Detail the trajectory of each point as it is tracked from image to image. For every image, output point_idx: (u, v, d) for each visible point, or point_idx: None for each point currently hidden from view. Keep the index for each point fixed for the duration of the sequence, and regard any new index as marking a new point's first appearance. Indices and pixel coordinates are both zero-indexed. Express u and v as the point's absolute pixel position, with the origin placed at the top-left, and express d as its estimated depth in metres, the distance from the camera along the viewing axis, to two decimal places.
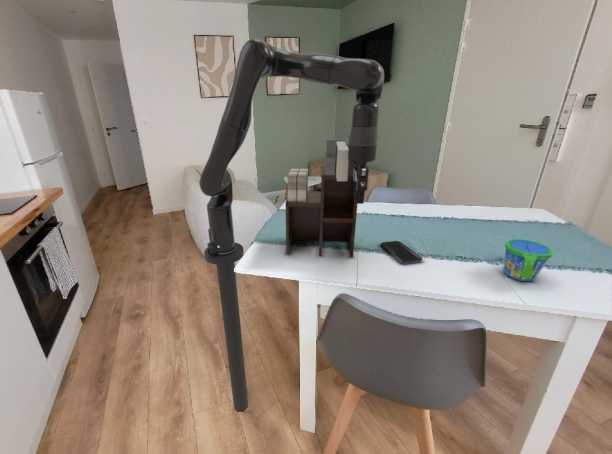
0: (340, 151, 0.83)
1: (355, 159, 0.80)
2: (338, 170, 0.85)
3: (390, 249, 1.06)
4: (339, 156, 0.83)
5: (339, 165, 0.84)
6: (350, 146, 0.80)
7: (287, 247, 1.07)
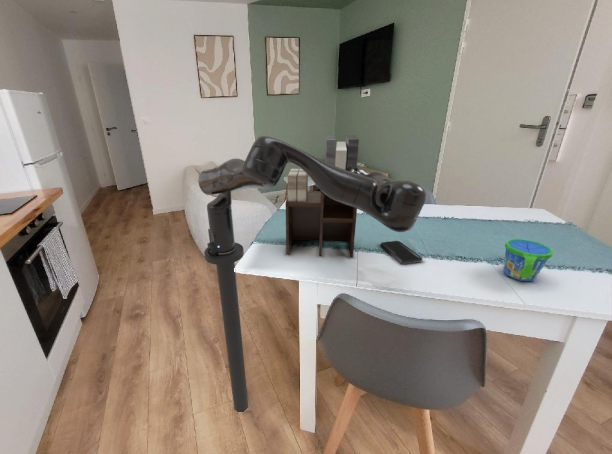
0: (337, 151, 0.83)
1: None
2: None
3: (390, 249, 1.06)
4: (336, 156, 0.84)
5: (336, 165, 0.85)
6: None
7: (287, 247, 1.07)
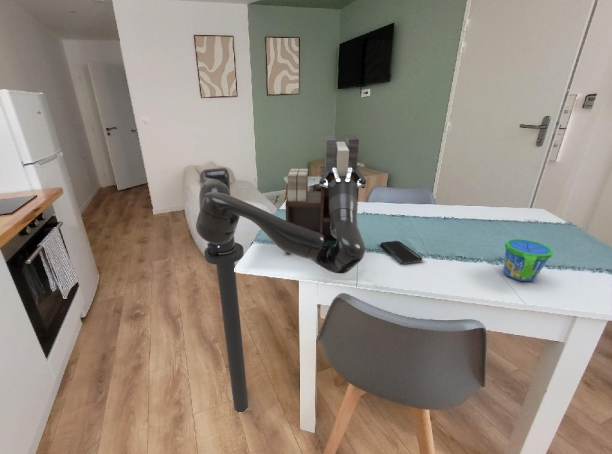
0: (340, 151, 0.83)
1: None
2: (338, 170, 0.85)
3: (390, 249, 1.06)
4: (339, 156, 0.83)
5: (339, 165, 0.84)
6: None
7: None
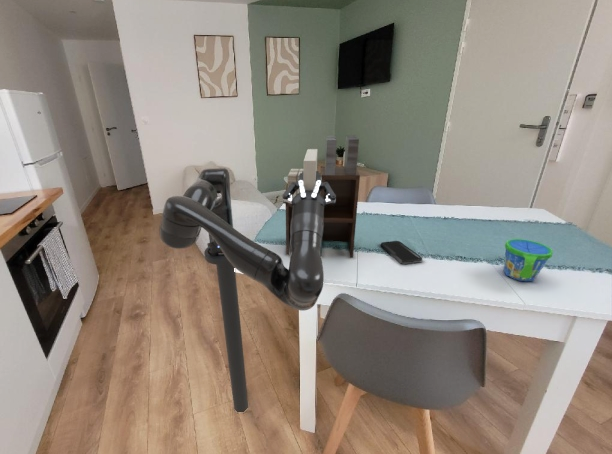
0: (305, 161, 0.71)
1: None
2: (304, 183, 0.73)
3: (390, 249, 1.06)
4: (304, 167, 0.72)
5: (305, 178, 0.73)
6: None
7: (287, 247, 1.07)
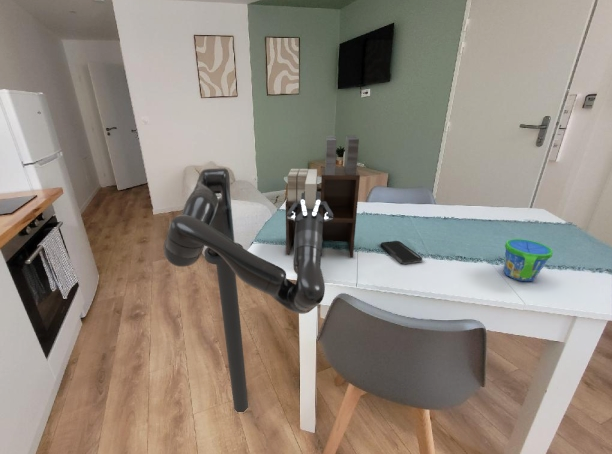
0: (307, 184, 0.82)
1: None
2: (305, 203, 0.84)
3: (390, 249, 1.06)
4: (306, 189, 0.83)
5: (306, 198, 0.84)
6: None
7: (287, 247, 1.07)
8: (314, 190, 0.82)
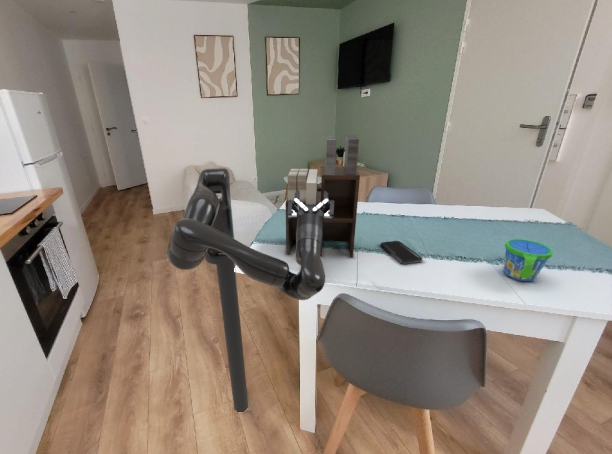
0: (308, 183, 0.88)
1: None
2: (307, 200, 0.90)
3: (390, 249, 1.06)
4: (307, 188, 0.89)
5: (307, 196, 0.90)
6: None
7: (287, 247, 1.07)
8: (315, 189, 0.88)
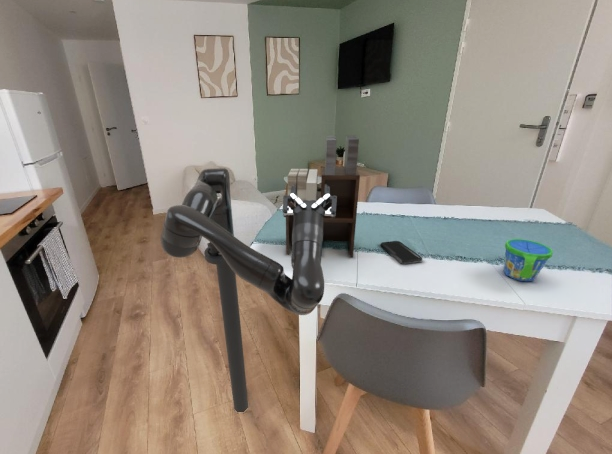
0: (308, 183, 0.88)
1: None
2: None
3: (390, 249, 1.06)
4: (307, 188, 0.89)
5: (307, 196, 0.90)
6: None
7: (287, 247, 1.07)
8: (315, 189, 0.88)
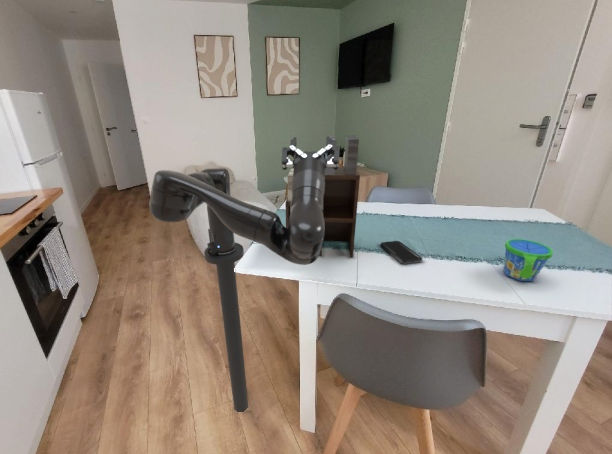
0: None
1: None
2: None
3: (390, 249, 1.06)
4: None
5: None
6: None
7: None
8: None
